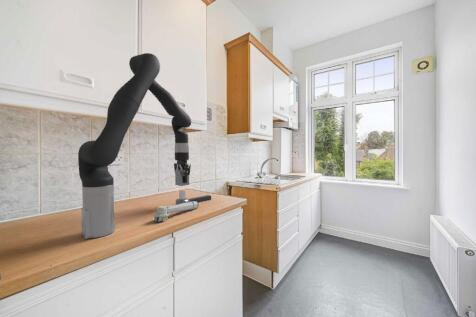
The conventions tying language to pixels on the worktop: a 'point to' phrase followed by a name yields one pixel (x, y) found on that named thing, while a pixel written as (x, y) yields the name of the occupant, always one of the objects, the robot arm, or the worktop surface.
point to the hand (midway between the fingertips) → (182, 182)
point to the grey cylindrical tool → (173, 210)
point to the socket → (180, 178)
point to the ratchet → (185, 200)
